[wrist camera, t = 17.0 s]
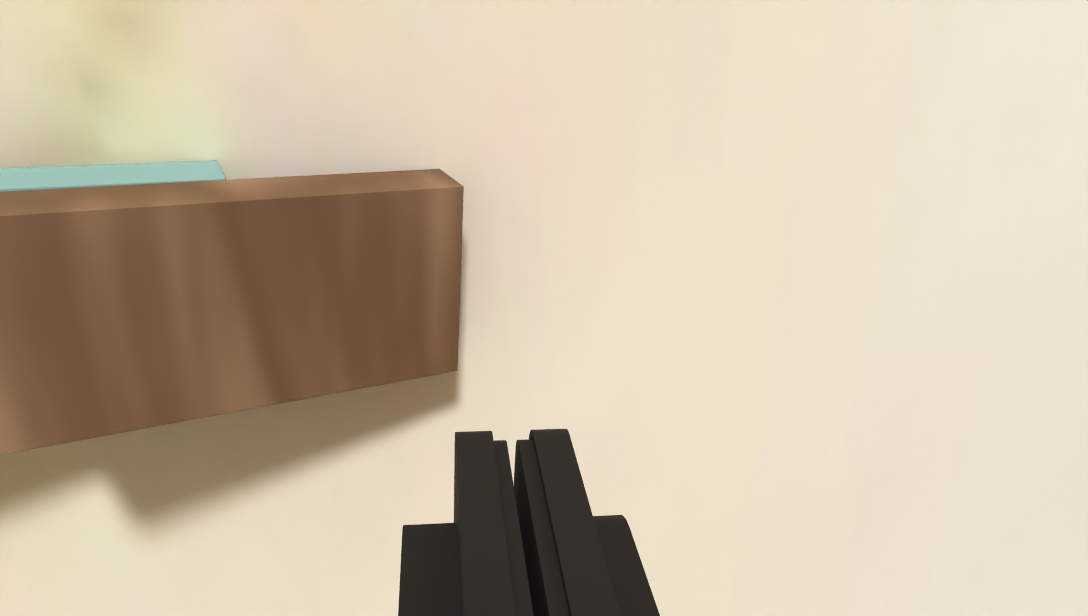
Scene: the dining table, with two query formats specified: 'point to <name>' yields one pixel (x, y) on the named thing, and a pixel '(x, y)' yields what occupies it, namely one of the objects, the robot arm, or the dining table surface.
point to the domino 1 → (107, 175)
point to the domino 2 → (219, 297)
